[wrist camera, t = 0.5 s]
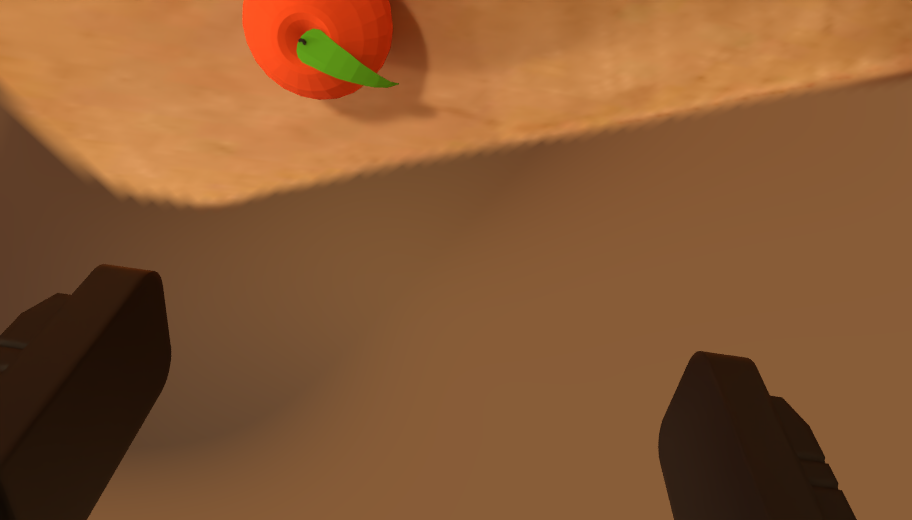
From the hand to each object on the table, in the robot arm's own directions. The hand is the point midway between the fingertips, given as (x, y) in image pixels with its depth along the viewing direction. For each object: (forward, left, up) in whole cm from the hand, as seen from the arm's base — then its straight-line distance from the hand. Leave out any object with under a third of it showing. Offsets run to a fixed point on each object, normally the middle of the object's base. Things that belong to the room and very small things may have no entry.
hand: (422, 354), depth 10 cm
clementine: (+1, -6, -28) cm, 29 cm away
